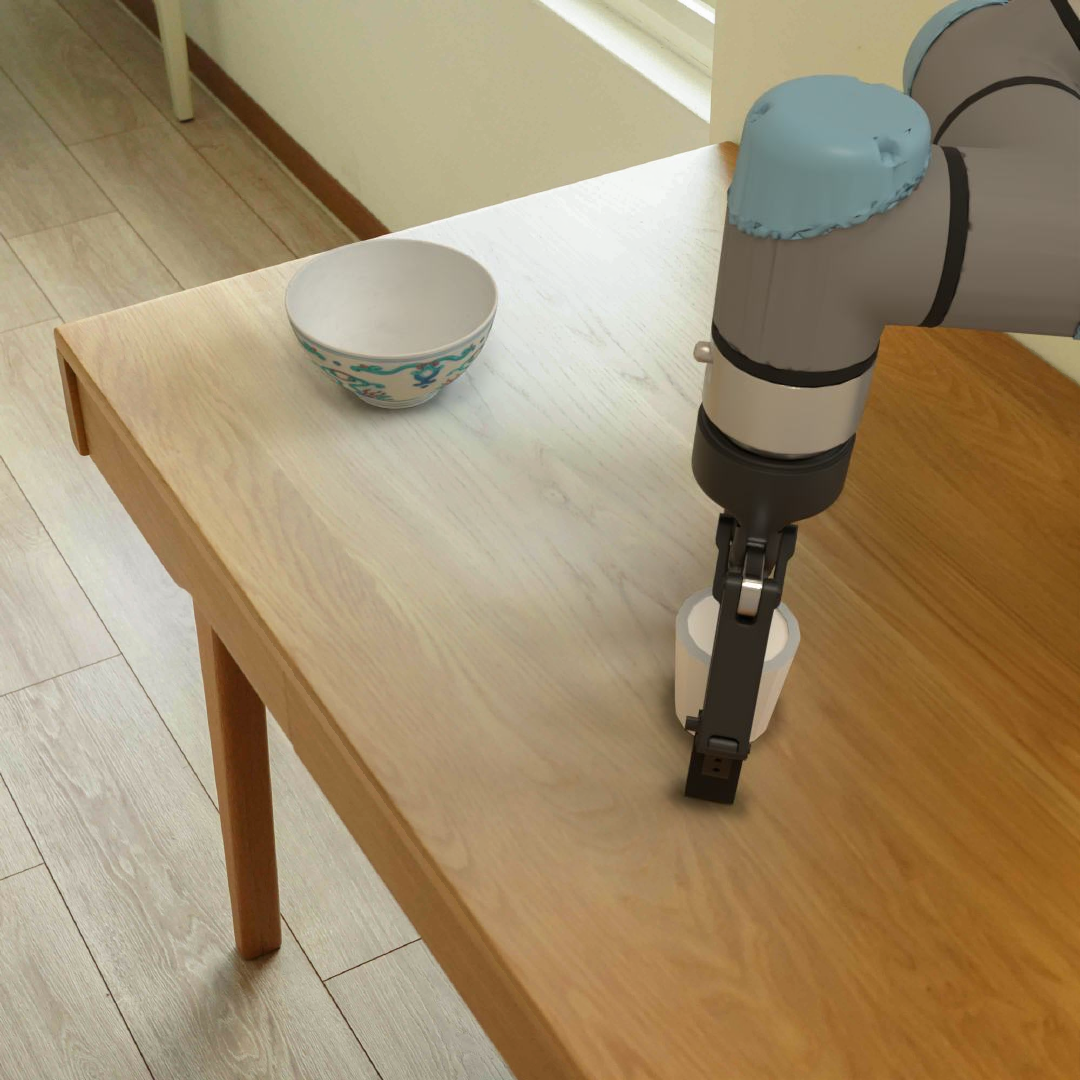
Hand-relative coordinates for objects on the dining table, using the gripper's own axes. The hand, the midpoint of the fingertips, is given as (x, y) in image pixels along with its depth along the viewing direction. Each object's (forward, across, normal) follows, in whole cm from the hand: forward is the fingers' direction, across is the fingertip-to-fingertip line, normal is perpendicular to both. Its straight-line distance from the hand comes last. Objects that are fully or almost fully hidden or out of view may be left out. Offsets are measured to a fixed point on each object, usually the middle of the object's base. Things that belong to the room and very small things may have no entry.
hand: (720, 706), depth 78 cm
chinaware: (0, -26, -27) cm, 37 cm away
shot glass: (0, 0, 0) cm, 0 cm away
